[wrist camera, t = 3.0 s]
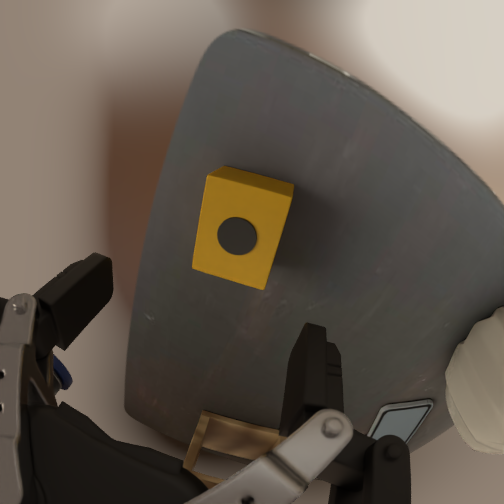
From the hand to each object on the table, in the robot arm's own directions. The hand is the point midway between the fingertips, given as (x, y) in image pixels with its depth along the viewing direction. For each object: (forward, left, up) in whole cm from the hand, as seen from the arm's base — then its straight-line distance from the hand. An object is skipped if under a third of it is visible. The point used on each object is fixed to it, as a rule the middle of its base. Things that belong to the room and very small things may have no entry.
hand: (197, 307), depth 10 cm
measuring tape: (0, 0, -11) cm, 11 cm away
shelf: (+6, -33, -11) cm, 35 cm away
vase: (+28, -5, -11) cm, 30 cm away
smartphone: (+26, -23, -11) cm, 36 cm away
